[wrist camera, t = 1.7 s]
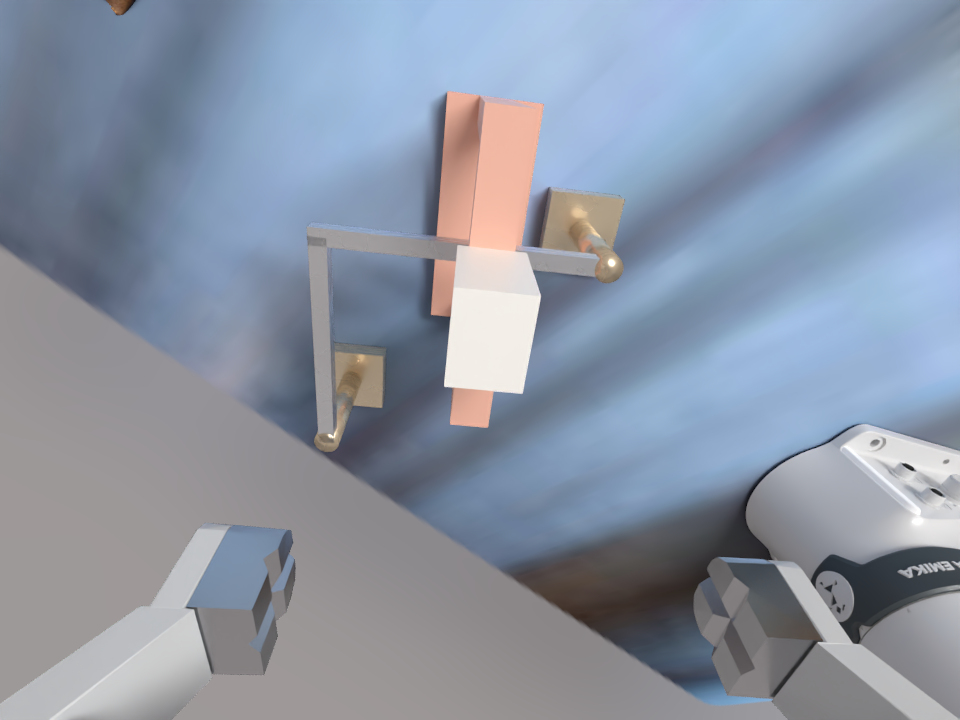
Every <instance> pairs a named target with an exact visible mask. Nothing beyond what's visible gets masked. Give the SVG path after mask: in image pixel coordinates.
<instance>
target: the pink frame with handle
mask: <svg viewBox="0 0 960 720" xmlns="http://www.w3.org/2000/svg"><path fill="white" fill-rule="evenodd" d="M543 107H544V104H541V103H533V102H526V101H519V100H511V99H504V98H496V97H489V96H481V95H474V94H466V93H459V92H451V91H448V92H447V105H446V118H445V132H444V145H443V159H442V172H441V185H440V199H439V212H438V225H437V236H440V237H448V238H457V239H466V240H469V245H468V246H462V245H458V246H457V256H456V261H447V260H437V259H435V266H434V279H433V292H432V306H431V315H438V316H448V317H451V318H450V329H449V339H448V350H447V360H446V371H445V382H444V387H452V400H451V415H450V424H451V425H463V426H474V427H486V428H488V423H489V417H490V411H491V404H492V398H493V391H498V392H508V393H519V394H522V393H523V388H524V383H525V378H526V373H527V367H528V362H529V357H530V352H531V346H532V341H533V336H534V331H535V326H536V320H537V315H538V310H539V305H540V299H541V295H540V292H539V289H538V285H537V282H536V279H535V276H534V273H533V270H532V267H531V264H530V261H529V258H528V255H527V253H524V252H515V251H516V245H519V246H521V244H522V238H523V231H524V225H525V219H526V213H527V207H528V200H529V194H530V188H531V182H532V176H533V169H534V163H535V157H536V151H537V145H538V138H539V132H540V126H541V120H542V114H543Z"/></svg>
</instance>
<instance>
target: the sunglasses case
mask: <svg viewBox="0 0 960 720" xmlns="http://www.w3.org/2000/svg"><path fill="white" fill-rule="evenodd" d="M106 1H107V2H108V3H109V5H111V6H112V7H111V9H112V10H113V11H114V12H115V13H116V15H123V14H124V13H125V12H126V11H127V10H128V9H129V8H130V7H131V6H132V5H133V3H134V2H135V0H106Z"/></svg>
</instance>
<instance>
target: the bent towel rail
mask: <svg viewBox="0 0 960 720" xmlns="http://www.w3.org/2000/svg"><path fill="white" fill-rule="evenodd" d="M624 202H625V199H624V198H622V197H621V196H620V195H613V194H605V193H597V192H589V191H581V190H572V189H564V188H556V187H549V192H548V198H547V204H546V209H545V215H544V220H543V226H542V232H541V237H540V243H539V248H537V247H528V246H519V245H516V251H515V252H524V253H527V255H528V258H529V261H530V264H531V267H532V270H538V271H547V272H556V273H565V274H574V275H583V276H592V277H596V278H597V279H598V280H599V281H600V282H603V283H611V282H614V281H616V280H617V279H618V278H619V277H620V276H621V275H622V272H623V263H622V261H621V260H620V258H619V257H618V256H617V255H616V254H615V253H614V251H613V250H612V249H613V245H614V241H615V237H616V233H617V229H618V225H619V221H620V217H621V213H622V210H623V206H624ZM307 240H308V257H309V275H310V293H311V311H312V329H313V347H314V365H315V383H316V401H317V419H318V433H317V435H316V437H315V439H314V443H315V445H316V447H317V448H318V449H320V450H321V451H324V452H332V451H334V450H336V449H337V447H338V445H339V442H340V439H341V437H342V434H343V431H344V429H345V426H346V423H347V421H348V418H349V415H350V413H351V410H352V407H353V405H355V406H366V407H377V408H382V407H383V403H384V399H385V376H386V348H385V347H375V346H364V345H354V344H343V343H335V341H334V310H333V278H332V248H337V249H346V250H355V251H364V252H374V253H383V254H392V255H401V256H410V257H419V258H428V259H437V260H447V261H456V256H457V246H458V245H462V246H468V245H469V240H466V239H457V238H448V237H440V236H431V235H422V234H413V233H404V232H395V231H386V230H378V229H369V228H360V227H351V226H342V225H333V224H324V223H316V222H312V223H311V224H309V225H308V226H307Z"/></svg>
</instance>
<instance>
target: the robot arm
mask: <svg viewBox="0 0 960 720" xmlns="http://www.w3.org/2000/svg"><path fill="white" fill-rule="evenodd" d="M746 521H747V525H748V527H749V529H750V531H751V532H752V533H753V535H754V536H755V537H756V538H757V539H759V540H760V541H761V542H762V543H763V544H764V545H765V546H766V547H767V548H768V549H769V553H770V556H771V558H772V559H773V560H764V559H748V558H729V557H717V558H715V559H713V560H711V562H710V564H709V566H708V568H707V571H708V573H709V575H710V577H709V578H707V579H706V580H704V581H703V582H701V583H699V585H698V587H697V589H696V592H695V594H694V613H695V618H696V622H697V624H698V627H699V629H700V632H701V634H702V635H703V636H704V637H705V638H706V639H707V640H708V641H709V642H710V643H711V644H712V645H713V646H714V649H713V653H712V660H713V663H714V665H715V668H716V670H717V672H718V675H719V677H720V679H721V682H722V684H723V686H724V689H725V691H726V693H727V695H728V696H742V697H755V698H769V699H773V700H772V702H773V703H774V705H775V706H776V707H777V708H778V709H779V710H780V711H781V712H782V714H783V715H784V716H785V717H786V718H787V719H788V720H960V451H957V450H954V449H951V448H947V447H944V446H940V445H937V444H933V443H930V442H926V441H923V440H920V439H916V438H913V437H909V436H906V435H902V434H899V433H895V432H892V431H888V430H885V429H882V428H878V427H875V426H871V425H867V424H861V425H857V426H855V427H853V428H851V429H849V430H847V431H846V432H844V433H843V434H841V435H840V436H838V437H837V438H835V439H834V440H832V441H831V442H829V443H827V444H825V445H823V446H820V447H817V448H814V449H812V450H809V451H806V452H804V453H801V454H799V455H797V456H795V457H793V458H791V459H789V460H787V461H786V462H784V463H782V464H781V465H779V466H778V467H777V468H775V469H774V470H773V471H771V472H770V473H769V474H768V475H767V476H766V477H765V478H764V479H763V480H762V481H761V482H760V483H759V484H758V486H757V487H756V488H755V490H754V491H753V493H752V495H751V497H750V499H749V501H748V504H747V508H746ZM292 544H293V539H292V533H291V530H284V529H273V528H261V527H250V526H240V525H227V524H214V523H204V524H203V525H202V526H201V527H200V528H198V529H197V530H196V532H195V533H194V535H193V537H192V538H191V540H190V541H189V543H188V545H187V546H186V548H185V549H184V551H183V553H182V554H181V556H180V558H179V559H178V561H177V562H176V564H175V566H174V567H173V569H172V571H171V572H170V574H169V576H168V577H167V579H166V580H165V582H164V584H163V585H162V587H161V588H160V590H159V592H158V593H157V595H156V596H155V598H154V600H153V601H152V603H151V605H150V606H140V607H138V608H137V609H135V610H134V611H132V612H131V613H129V614H128V615H127V616H125V617H124V618H122V619H121V620H119V621H118V622H117V623H115V624H114V625H112V626H111V627H109V628H108V629H107V630H105V631H104V632H102V633H101V634H99V635H98V636H97V637H95V638H94V639H92V640H91V641H90V642H88V643H87V644H85V645H84V646H82V647H81V648H79V649H78V650H76V651H75V652H74V653H72V654H71V655H69V656H68V657H66V658H65V659H64V660H62V661H61V662H59V663H58V664H57V665H55V666H54V667H52V668H51V669H49V670H48V671H46V672H45V673H44V674H42V675H41V676H39V677H38V678H36V679H35V680H33V681H32V682H31V683H29V684H28V685H26V686H25V687H23V688H22V689H21V690H19V691H18V692H16V693H15V694H13V695H12V696H11V697H9V698H8V699H6V700H5V701H3V702H2V703H1V704H0V720H172V719H173V718H174V717H175V716H176V715H177V714H178V713H179V712H180V711H181V710H182V709H183V708H184V707H185V706H186V705H187V703H189V701H190V700H191V699H192V698H193V697H194V696H195V695H196V694H197V693H198V692H199V691H200V690H201V689H202V688H203V687H204V686H205V685H206V684H207V683H208V682H209V681H210V680H211V679H212V674H230V675H264V674H265V671H266V668H267V665H268V663H269V659H270V657H271V654H272V651H273V649H274V646H275V643H276V640H277V637H278V634H277V627H276V620H278V619H279V618H280V617H281V616H282V615H283V614H285V613H286V611H287V608H288V605H289V602H290V599H291V596H292V591H293V586H294V582H295V569H296V568H295V559H294V558H293V557H292V556H291V555H290V554H289V552H290V549H291V547H292Z"/></svg>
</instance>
